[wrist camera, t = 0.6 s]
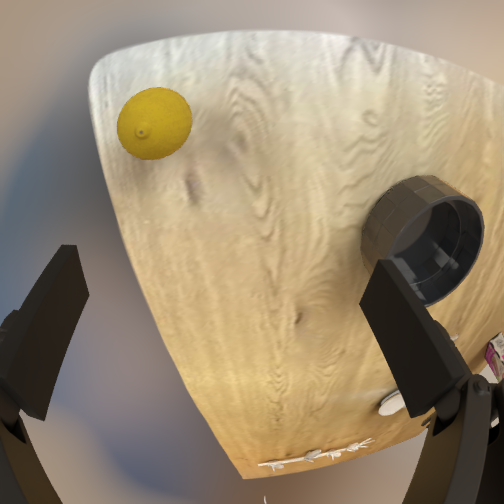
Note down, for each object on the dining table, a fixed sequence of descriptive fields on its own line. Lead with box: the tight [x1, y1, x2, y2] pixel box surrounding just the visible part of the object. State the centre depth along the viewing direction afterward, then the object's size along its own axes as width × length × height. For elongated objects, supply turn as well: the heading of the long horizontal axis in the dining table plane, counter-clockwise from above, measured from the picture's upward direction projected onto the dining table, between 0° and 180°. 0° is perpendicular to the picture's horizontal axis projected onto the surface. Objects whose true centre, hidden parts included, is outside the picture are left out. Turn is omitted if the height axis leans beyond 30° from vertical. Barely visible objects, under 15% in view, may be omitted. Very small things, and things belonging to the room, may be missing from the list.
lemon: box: [117, 87, 192, 160], centre depth 19 cm, size 6×6×8 cm
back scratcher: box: [379, 333, 458, 416], centre depth 51 cm, size 9×32×4 cm, turn 2°
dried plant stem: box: [258, 438, 375, 504], centre depth 69 cm, size 12×19×40 cm
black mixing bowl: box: [361, 176, 485, 308], centre depth 29 cm, size 15×15×6 cm
